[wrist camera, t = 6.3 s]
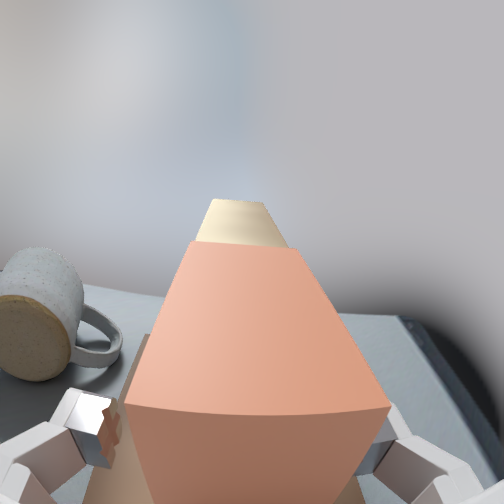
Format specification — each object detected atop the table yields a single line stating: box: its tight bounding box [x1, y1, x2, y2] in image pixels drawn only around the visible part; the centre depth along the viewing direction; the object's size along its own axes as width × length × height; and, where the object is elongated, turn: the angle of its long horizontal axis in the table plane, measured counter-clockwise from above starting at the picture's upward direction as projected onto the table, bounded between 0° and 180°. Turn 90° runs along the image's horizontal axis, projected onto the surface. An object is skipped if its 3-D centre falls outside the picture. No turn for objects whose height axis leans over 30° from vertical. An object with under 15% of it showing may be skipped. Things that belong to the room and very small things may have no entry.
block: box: [124, 241, 392, 504], centre depth 7 cm, size 3×6×10 cm, turn 3°
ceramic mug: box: [0, 247, 123, 381], centre depth 19 cm, size 11×8×8 cm
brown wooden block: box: [82, 199, 366, 504], centre depth 12 cm, size 12×17×12 cm
